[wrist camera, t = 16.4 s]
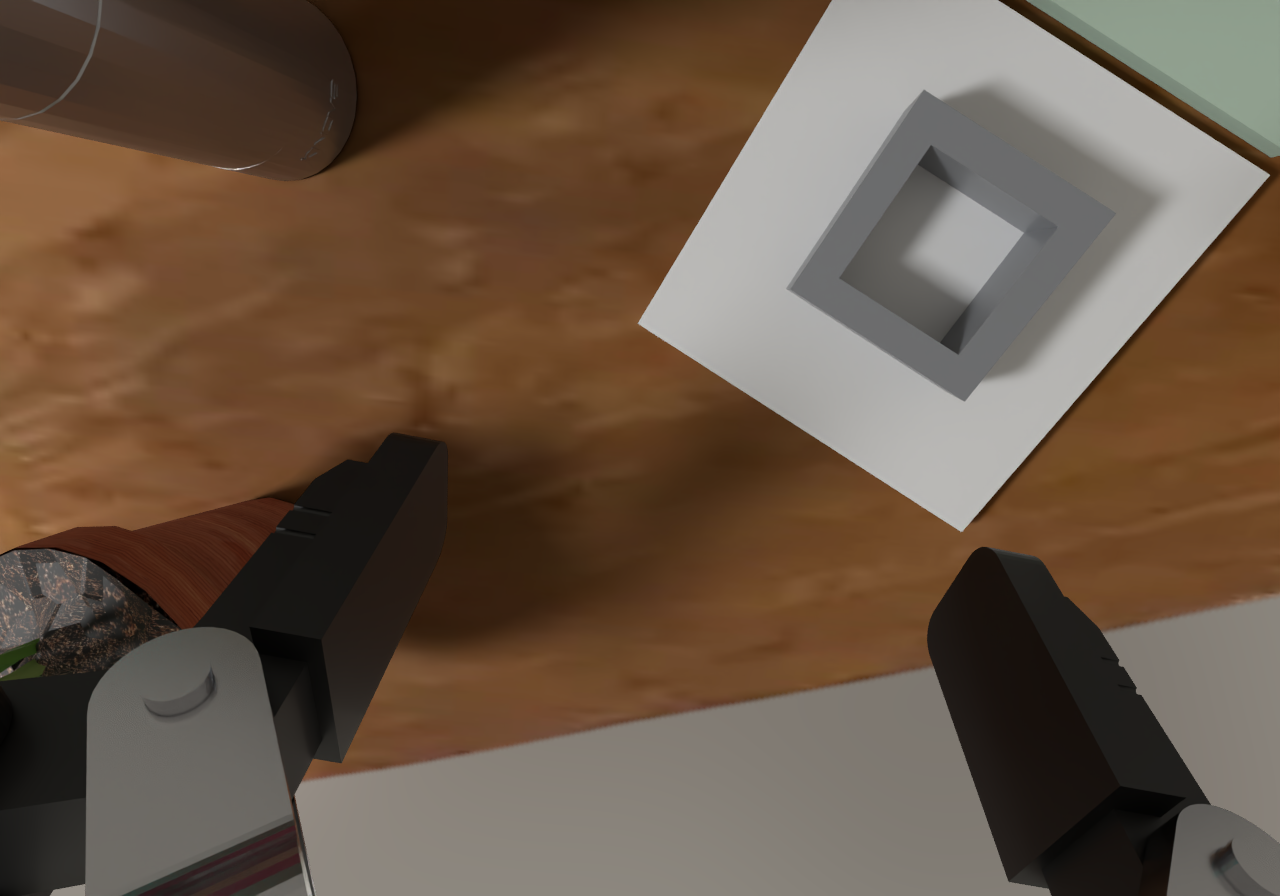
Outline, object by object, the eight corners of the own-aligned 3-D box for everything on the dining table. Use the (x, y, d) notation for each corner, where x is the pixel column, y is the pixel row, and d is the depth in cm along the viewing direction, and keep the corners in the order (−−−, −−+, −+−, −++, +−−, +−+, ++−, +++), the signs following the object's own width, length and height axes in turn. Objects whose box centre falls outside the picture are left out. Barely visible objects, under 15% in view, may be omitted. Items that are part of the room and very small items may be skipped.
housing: (640, 322, 35) (625, 328, 30) (873, -65, 29) (896, -126, 25) (955, 525, 35) (985, 559, 30) (1253, 178, 29) (1341, 160, 25)
